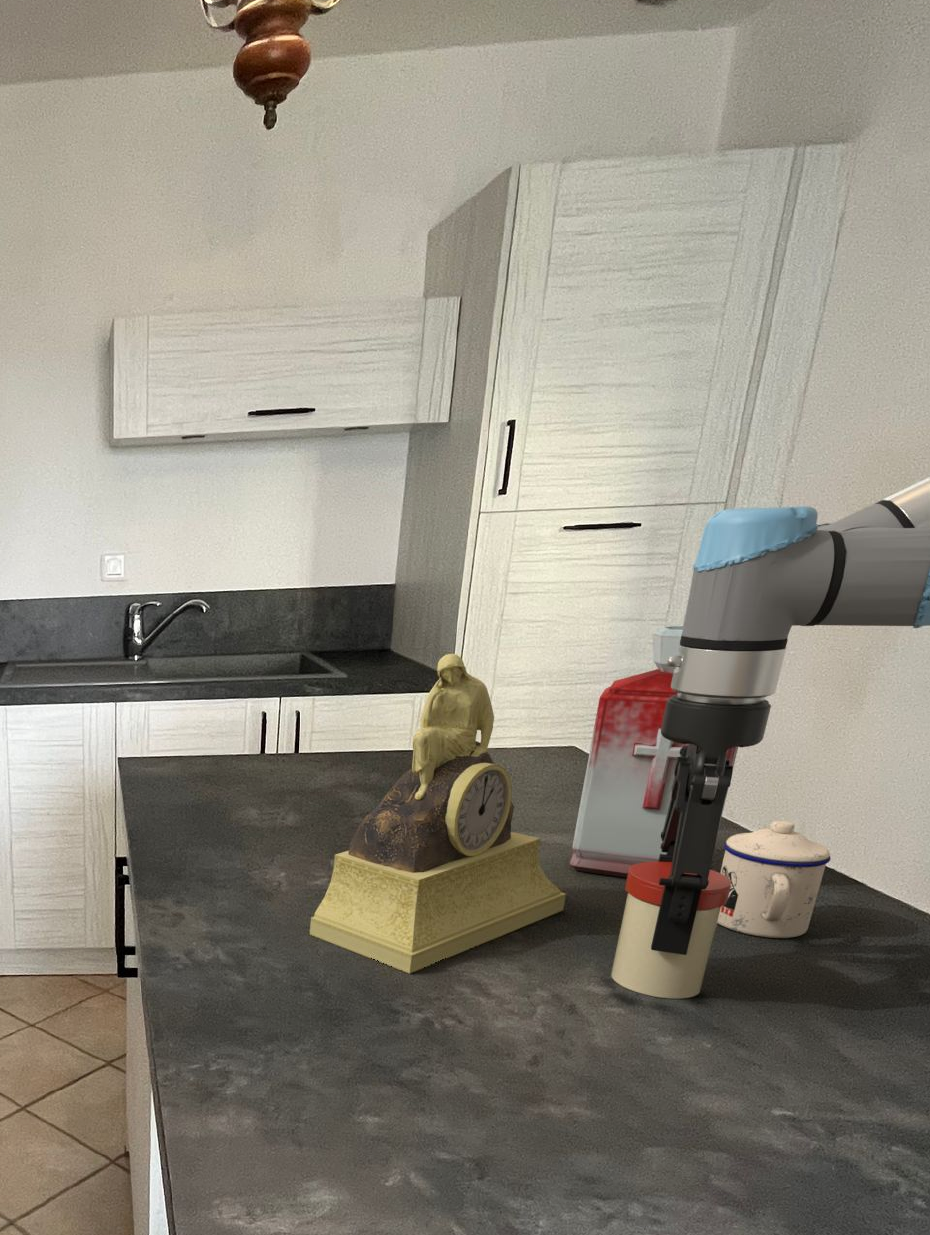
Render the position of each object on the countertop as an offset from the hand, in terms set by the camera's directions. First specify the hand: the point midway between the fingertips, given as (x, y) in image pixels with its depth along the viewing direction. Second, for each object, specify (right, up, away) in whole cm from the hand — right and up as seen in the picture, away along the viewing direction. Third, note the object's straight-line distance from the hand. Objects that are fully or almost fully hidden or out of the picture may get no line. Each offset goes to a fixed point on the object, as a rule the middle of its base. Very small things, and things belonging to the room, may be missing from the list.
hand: (665, 933), depth 94 cm
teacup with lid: (+19, 0, +13) cm, 23 cm away
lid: (0, +5, -2) cm, 6 cm away
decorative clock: (-14, +1, +18) cm, 22 cm away
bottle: (+17, +7, +30) cm, 35 cm away
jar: (0, -5, +2) cm, 5 cm away
